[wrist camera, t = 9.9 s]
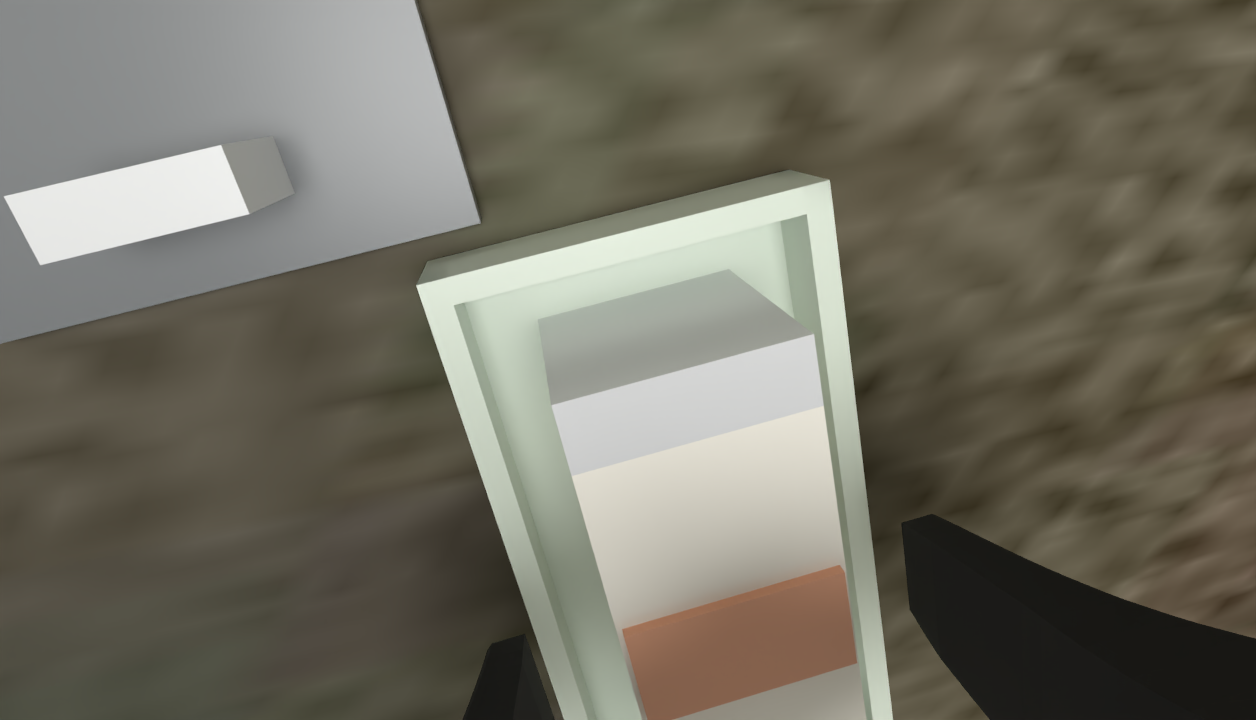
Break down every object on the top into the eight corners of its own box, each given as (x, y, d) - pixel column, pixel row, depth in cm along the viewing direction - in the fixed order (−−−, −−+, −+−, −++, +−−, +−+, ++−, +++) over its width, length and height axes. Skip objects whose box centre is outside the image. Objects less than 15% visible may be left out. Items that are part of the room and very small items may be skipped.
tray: (592, 761, 19) (602, 831, 18) (427, 261, 14) (415, 285, 13) (858, 679, 20) (895, 739, 18) (788, 169, 15) (829, 179, 13)
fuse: (646, 702, 18) (689, 886, 14) (537, 319, 15) (551, 410, 10) (796, 657, 19) (884, 823, 14) (728, 269, 15) (819, 337, 11)
